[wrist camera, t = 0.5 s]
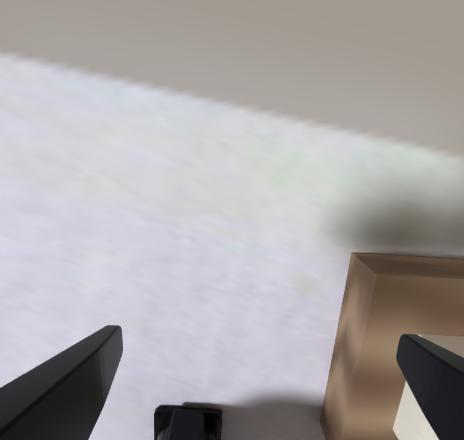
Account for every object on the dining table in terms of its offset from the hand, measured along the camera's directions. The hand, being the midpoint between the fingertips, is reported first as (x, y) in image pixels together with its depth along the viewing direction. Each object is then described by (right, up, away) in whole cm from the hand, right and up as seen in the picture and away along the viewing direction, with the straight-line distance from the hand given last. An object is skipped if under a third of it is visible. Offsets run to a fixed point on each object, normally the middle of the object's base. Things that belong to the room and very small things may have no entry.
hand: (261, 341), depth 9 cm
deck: (+15, -8, +16) cm, 24 cm away
